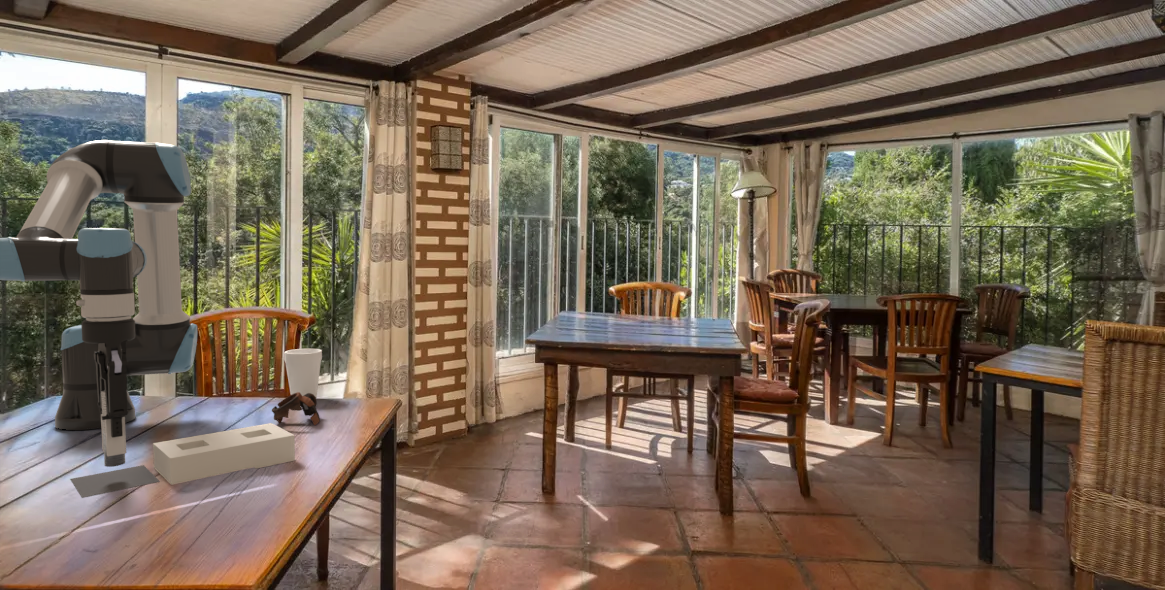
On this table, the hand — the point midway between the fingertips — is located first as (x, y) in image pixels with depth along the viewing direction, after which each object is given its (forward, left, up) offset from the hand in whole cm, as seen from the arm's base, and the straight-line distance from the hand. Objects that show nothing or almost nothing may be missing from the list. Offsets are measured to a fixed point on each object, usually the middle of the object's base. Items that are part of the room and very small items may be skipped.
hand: (114, 451), depth 117 cm
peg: (0, 0, -2) cm, 2 cm away
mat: (0, 0, -5) cm, 5 cm away
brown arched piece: (-18, +39, -6) cm, 44 cm away
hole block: (+3, +17, -5) cm, 18 cm away
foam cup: (-42, +50, -6) cm, 65 cm away
